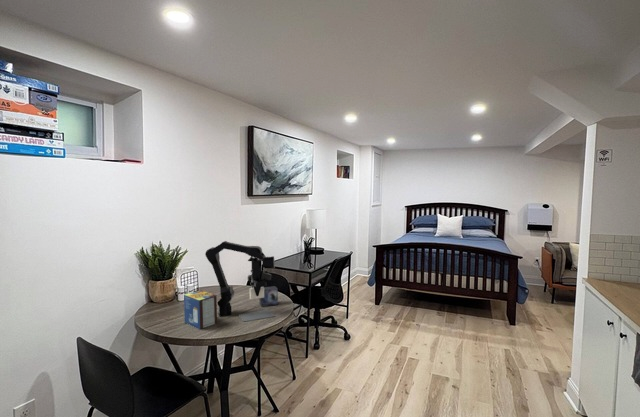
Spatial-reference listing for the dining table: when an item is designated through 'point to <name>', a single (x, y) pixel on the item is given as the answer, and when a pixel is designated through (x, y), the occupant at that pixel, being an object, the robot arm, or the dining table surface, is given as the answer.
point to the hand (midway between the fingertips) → (256, 295)
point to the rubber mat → (256, 315)
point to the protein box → (200, 309)
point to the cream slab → (253, 294)
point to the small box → (269, 296)
